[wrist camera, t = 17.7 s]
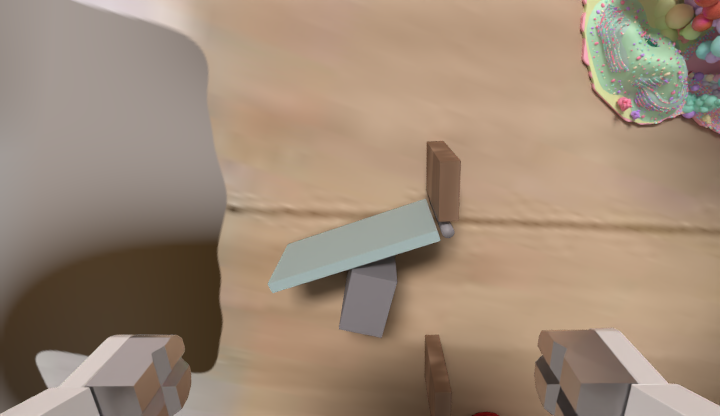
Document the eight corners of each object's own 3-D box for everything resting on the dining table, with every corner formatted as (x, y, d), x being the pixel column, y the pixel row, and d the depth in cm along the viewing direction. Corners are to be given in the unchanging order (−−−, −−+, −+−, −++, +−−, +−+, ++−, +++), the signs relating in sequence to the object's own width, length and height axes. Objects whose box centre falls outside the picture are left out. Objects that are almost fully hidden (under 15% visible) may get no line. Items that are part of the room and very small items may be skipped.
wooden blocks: (443, 141, 38) (460, 161, 30) (437, 375, 48) (449, 437, 40) (426, 141, 38) (439, 161, 30) (424, 375, 48) (434, 437, 40)
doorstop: (393, 238, 42) (397, 282, 33) (380, 285, 44) (381, 337, 36) (357, 231, 42) (351, 272, 33) (346, 278, 44) (338, 329, 35)
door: (440, 203, 40) (455, 235, 32) (291, 252, 42) (272, 293, 35) (438, 194, 39) (452, 225, 32) (287, 244, 42) (267, 283, 34)
